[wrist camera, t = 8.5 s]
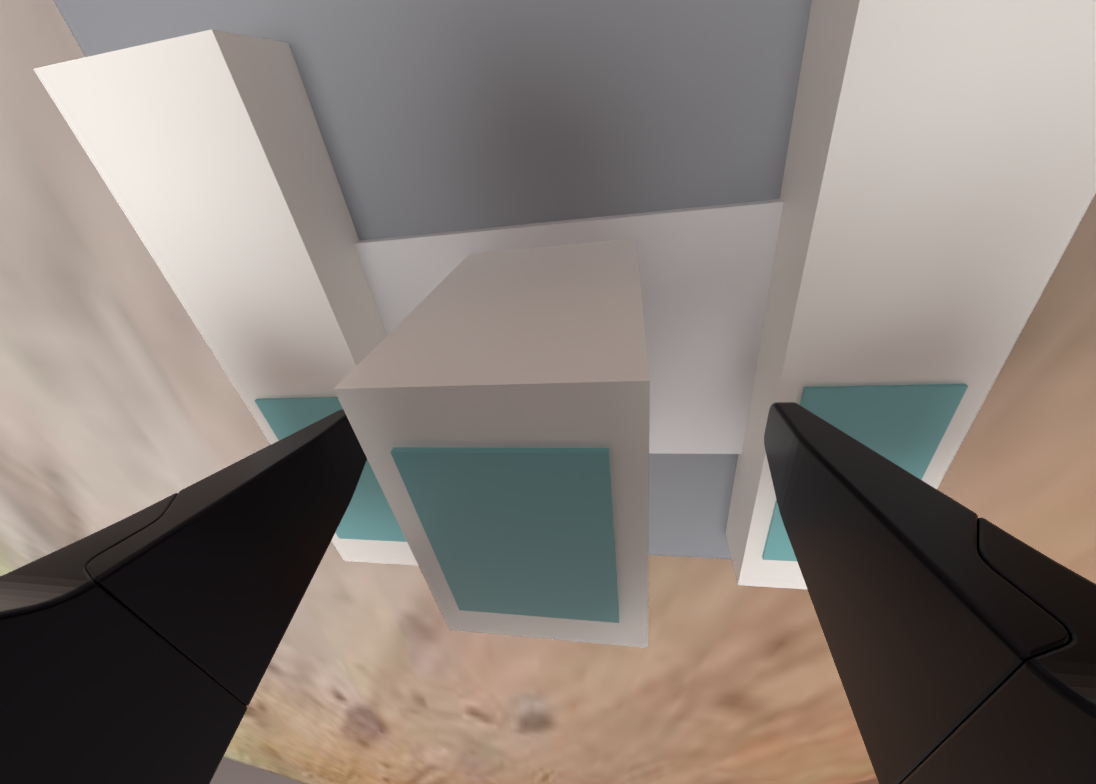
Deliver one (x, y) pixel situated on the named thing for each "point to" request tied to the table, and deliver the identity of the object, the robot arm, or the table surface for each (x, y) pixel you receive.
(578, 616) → the block
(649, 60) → the rail board
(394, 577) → the table surface
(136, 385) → the table surface
